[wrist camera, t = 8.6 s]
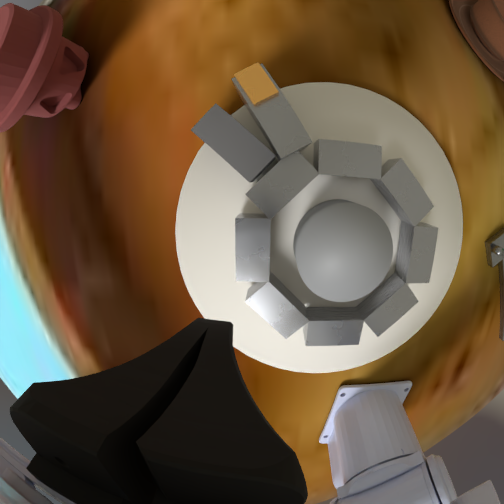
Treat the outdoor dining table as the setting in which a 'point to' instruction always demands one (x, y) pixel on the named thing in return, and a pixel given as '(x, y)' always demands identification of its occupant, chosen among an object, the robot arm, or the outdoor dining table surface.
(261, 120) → the grey block crown
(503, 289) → the pin spanner
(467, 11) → the cup and saucer
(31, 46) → the mechanical component
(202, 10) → the outdoor dining table surface
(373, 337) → the white round disc
